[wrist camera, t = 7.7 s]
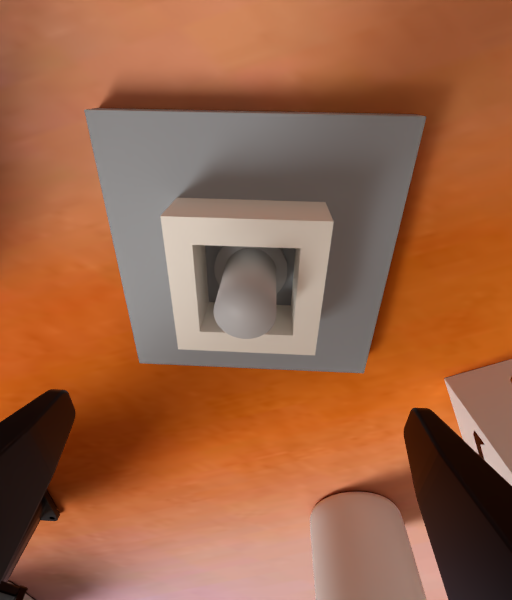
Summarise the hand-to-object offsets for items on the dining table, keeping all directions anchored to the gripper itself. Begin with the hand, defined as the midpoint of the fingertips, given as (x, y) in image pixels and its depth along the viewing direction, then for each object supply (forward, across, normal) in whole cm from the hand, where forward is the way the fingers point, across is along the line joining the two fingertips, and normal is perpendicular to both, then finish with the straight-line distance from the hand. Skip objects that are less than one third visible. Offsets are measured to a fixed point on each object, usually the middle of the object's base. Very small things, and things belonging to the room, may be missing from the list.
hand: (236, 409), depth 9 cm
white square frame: (+9, 0, 0) cm, 9 cm away
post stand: (+10, 0, 0) cm, 10 cm away
